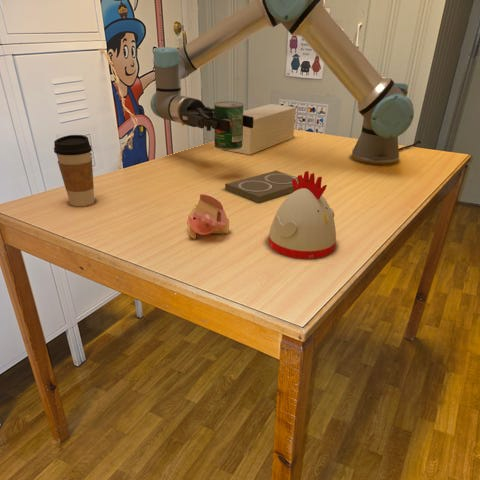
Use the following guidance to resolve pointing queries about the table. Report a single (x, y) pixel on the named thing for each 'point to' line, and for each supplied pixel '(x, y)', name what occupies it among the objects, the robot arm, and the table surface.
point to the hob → (263, 186)
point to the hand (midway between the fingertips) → (240, 124)
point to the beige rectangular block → (267, 127)
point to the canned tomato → (235, 116)
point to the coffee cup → (76, 168)
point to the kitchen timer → (304, 222)
